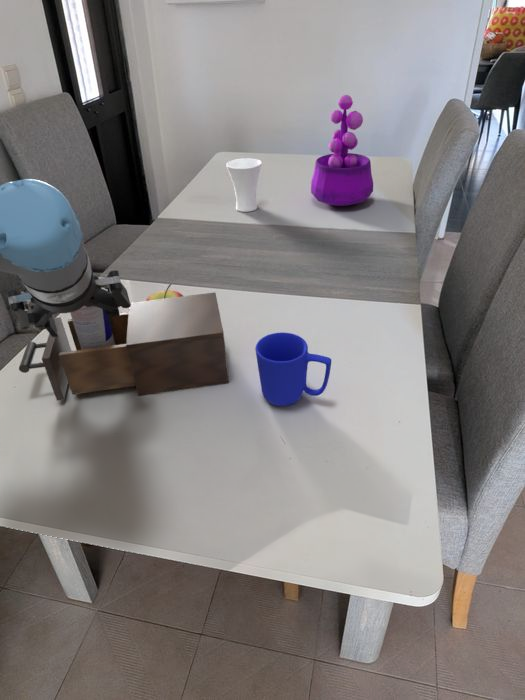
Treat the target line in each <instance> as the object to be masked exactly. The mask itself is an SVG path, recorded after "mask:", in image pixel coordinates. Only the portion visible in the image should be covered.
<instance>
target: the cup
mask: <svg viewBox="0 0 525 700" xmlns="http://www.w3.org/2000/svg"><path fill="white" fill-rule="evenodd" d="M225 166H226V169H227V171H228V174H229V177H230V179H231V182H232V184H233V185H232V186H233V189H234V194H235V209H236V211H238V212H242V213H249V212H253V211H256V210H257V209H258V202H257V188H258V187H257V186H258V180H259V175H260V172H261V169H262V168H261V167H262V160H260V159H258V158H251V157H245V158H244V157H242V158H236V159H232V160H229V161H227V162H226V163H225Z"/></svg>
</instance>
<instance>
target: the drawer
mask: <svg viewBox="0 0 525 700" xmlns="http://www.w3.org/2000/svg"><path fill="white" fill-rule="evenodd" d="M119 313H120V315H119V316H116V317H112V319H113V323H114V324H113V325H110V326H111V330H112V334H113V337H114V341H115V345H114V346H106V347H98V348H91V349H83V350H82V349H81V346H80V343H79V340H78V336H77V333H76V330H75V327H74V323H73V320H72V318H68V319H67V325H68V327H69V330H70V331H69V332H70V334H71V337H72V340H73V343H74V344H73V345H74V347H75V349H76V350H72V348H71V345H70V342H69V339H68V335H67V332H66V329H65V326H64V323H63V320H62V317H53V319H54V321H55V325H56V330H57V334H58V337H52V336H51V334H50V333H49V332H48V336H47V340H46V342H42V343H36V342H35V341H29V342H28V343H26V347H25V349H24V353H23V355H22V357H21V361H20V363H19V367H18V371H19V372H21V373H24V374H26V373H29V372H30V370H32V369H38V368H39V369H40V368H44V369H45V372H46V375H47V377H48V380H49V384H50V385H51V388H52V391H53V394H54V397H55V400H56V401H64V400H65V398H66V393H67V389H68V386H69V389H70V393H71V395H80V394H86V393H93V392H102V391H109V390H115V389H121V388H122V389H123V388H129V387H136V384H135V380H134V376H133V372H132V368H131V364H130V360H129V356H128V352H127V348H126V338H127V326H128V313H129V311H124V312H119ZM43 348H44V349H43ZM37 349H43V353H42V357H41V361H42V362H37V363H33V360H34V357H35V354H36V351H37Z"/></svg>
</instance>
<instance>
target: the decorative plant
mask: <svg viewBox="0 0 525 700" xmlns="http://www.w3.org/2000/svg"><path fill="white" fill-rule="evenodd" d="M353 103H354V101H353V99H352V96H350V95H349V94H343V95H342V96H340V97H339V100H338V102H337V104H338V107H339V109H337V110H336V109H335V110H333V111H332V112H331V113H330V118H329V119H330V121H331V122H332V123H333V124H335V125H337V124H340V129H336V130H334V132H333V133H332V139H331V140H330V142H329V144H328V148H329V151H330V152H331V153H329V154H325V155H321V156H319V157H317V158H316V160H315V162H314V163H315V164H314V170H313V175H312V178H311V182H310V193H311V195H312V196H313V197H314V198H315V199H316V200H317V201H318V202H320V203H322V204H326V205H330V206H337V207H347V206H351V205H357V204H360V203H362V202H364V201H367V199H368V198H369V197H370V196H371V195H372V194H373V192H374V179H373V174H372V164H371V159H370V158H369V157H368V156H366V155H363V154H360V153H359V154H358V153H354V152H353V153H352V152H349V150H350V151H352V150H354V149H355V148H356V147H357V146H358V144H359V142H358V138H357V136H356V134H355V133H354V132H351V131H355V130H357V129H359V128H361V126H362V125H363V123H364V118H363V114H362V113H361V112H359V111H357V110H353V111H350V112H349V113H347V110H349V109H351V108H352V106H353V105H354V104H353ZM340 109H341V110H342V111H343V112H342V111H341V110H340ZM349 129H350V130H351V131H348V130H349Z"/></svg>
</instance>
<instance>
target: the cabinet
mask: <svg viewBox="0 0 525 700" xmlns="http://www.w3.org/2000/svg"><path fill="white" fill-rule="evenodd" d="M130 305H131V306H130V307H129V308H128V312H129V313H128V326H127V338H126V348H127V352H128V356H129V360H130V364H131V368H132V372H133V376H134V380H135V384H136V386H135V388H136V393H137V396H138V397H140V396H146V395H153V394H154V395H155V394H162V393H167V392H173V391H174V392H175V391H182V390H189V389H194V388H195V389H196V388H202V387H208V386H209V387H210V386H217V385H222V384H230V383H229V382H230V380H229V371H228V361H227V355H226V345H225V335H224V328H223V323H222V318H221V314H220V313H221V312H220V309H219V303H218V299H217V292H207V293H206V292H205V293H199V294H198V293H197V294H190V295H183V296H181V297H173V298H165V299H157V300H149V301H146V300H142V301H134V302H130Z"/></svg>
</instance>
